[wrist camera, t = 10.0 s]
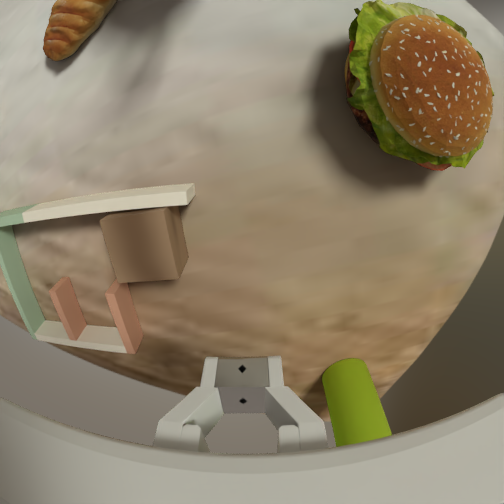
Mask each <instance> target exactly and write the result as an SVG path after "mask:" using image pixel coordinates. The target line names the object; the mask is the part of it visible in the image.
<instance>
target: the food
mask: <svg viewBox="0 0 504 504" xmlns="http://www.w3.org/2000/svg"><path fill="white" fill-rule="evenodd" d="M354 10H355V12H356V14H358V16H357V17H356V18H355V19H354V20H353V22H352V23H351V25H350V28H349V39H350V40H351V42H350V45H349V54H348V57H347V60H346V64H345V81H346V88H347V100H348V104H349V106H350V108H351V110H352V112H353V114H354V116H355V118H356V120H357V122H358V124H359V125H360V126H361V127H362V128H363V129H364V130H365V132H366V133H367V134H368V135H369V136H370V137H371V138H372V139H373V140H374V141H375V142H376V143H377V144H379V145H380V148H381V149H382V150H383V151H384V152H386V153H388V154H390V155H394V156H398V157H400V158H403V159H406V160H410V161H413V162H415V163H417V164H418V165H420V166H423V167H426V168H428V169H431V170H441V171H443V170H445V169H446V168H448V167H450V166H454V167H463V168H465V167H466V165H467V164H468V163H469V161H470V160H471V158H472V157H473V155H474V154H475V153H476V151H478V150H479V149H480V148H481V147H482V145H483V139H484V137H485V135H486V133H487V132H488V128H489V124H490V120H491V117H492V107H493V103H492V100H493V99H492V96H494V93H493V91H492V88H491V85H490V79H489V77H488V74H487V72H486V69H485V65H484V61H483V58H482V56H481V54H480V53H479V52H478V51H475V49H474V48H473V47H472V43H471V42H470V41H469V40H468V39H466V35H467V32H466V31H465V30H464V28H462V27H461V26H459V25H457V24H456V23H455V22H453V21H452V20H450V19H448V18H447V17H445V16H443V15H438V14H435V13H434V12H433V11H431V10H429V9H427V8H422V7H419V6H416V5H414V4H410V3H401V2H398V3H395V4H391V5H388V4H384V3H383V2H382V1H381V0H376V1H375V2H372V1H368V2H366V3H364V4H363V8H362V10H361V11H360V10H359V9H358V8H356V9H354Z"/></svg>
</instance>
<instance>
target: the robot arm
mask: <svg viewBox="0 0 504 504" xmlns="http://www.w3.org/2000/svg"><path fill="white" fill-rule="evenodd" d="M224 413H266V415H267V417H268V418H269V419H270V421H271V422H272V423H273V425H274V426H275V427H276V429H277V430H278V431H279V433H278V445H277V453H266V454H228V453H226V454H225V453H210V450H209V448H208V445H207V443H206V440H205V437H206V436H207V435H208V433H209V432H210V431H211V430H212V428H213V427H214V426H215V425H216V424H217V422H218V421H219V420H220V418H221V417H222V416H223V415H224ZM0 504H504V393H502V394H499V395H496V396H494V397H492V398H490V399H489V400H486V401H484V402H482V403H480V404H478V405H476V406H473V407H471V408H469V409H467V410H464V411H462V412H460V413H457V414H455V415H452V416H450V417H447V418H444V419H442V420H439V421H436V422H433V423H431V424H428V425H425V426H422V427H419V428H416V429H412V430H409V431H405V432H402V433H399V434H395V435H391V436H387V437H383V438H379V439H375V440H370V441H366V442H361V443H356V444H350V445H345V446H339V447H332V448H328V443H327V437H326V432H325V426H324V421H323V420H322V419H321V418H320V417H319V416H318V415H316V414H315V413H314V412H313V411H312V410H311V409H310V408H309V407H308V406H307V405H306V404H305V403H304V402H303V401H302V400H301V399H300V398H299V397H298V396H297V395H296V394H295V393H294V392H293V391H292V390H291V389H290V388H289V387H288V386H284V382H283V372H282V362H281V357H280V356H268V357H267V356H262V357H206V358H205V362H204V367H203V373H202V378H201V384H200V387H196V388H195V389H193V390H192V391H191V392H190V393H189V394H188V395H187V396H186V397H185V398H184V399H183V400H182V401H180V402H179V403H178V404H177V405H176V406H175V407H174V408H173V409H172V410H170V411H169V412H168V413H167V414H166V415H165V416H164V417H162V418H161V419H160V420H159V423H158V427H157V431H156V435H155V439H154V443H153V446H148V445H143V444H138V443H132V442H128V441H123V440H118V439H114V438H110V437H106V436H102V435H99V434H95V433H91V432H88V431H85V430H81V429H78V428H75V427H72V426H69V425H66V424H63V423H60V422H57V421H55V420H52V419H49V418H47V417H44V416H42V415H39V414H37V413H35V412H32V411H30V410H28V409H25V408H23V407H21V406H19V405H17V404H14V403H12V402H10V401H8V400H6V399H4V398H0Z"/></svg>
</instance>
